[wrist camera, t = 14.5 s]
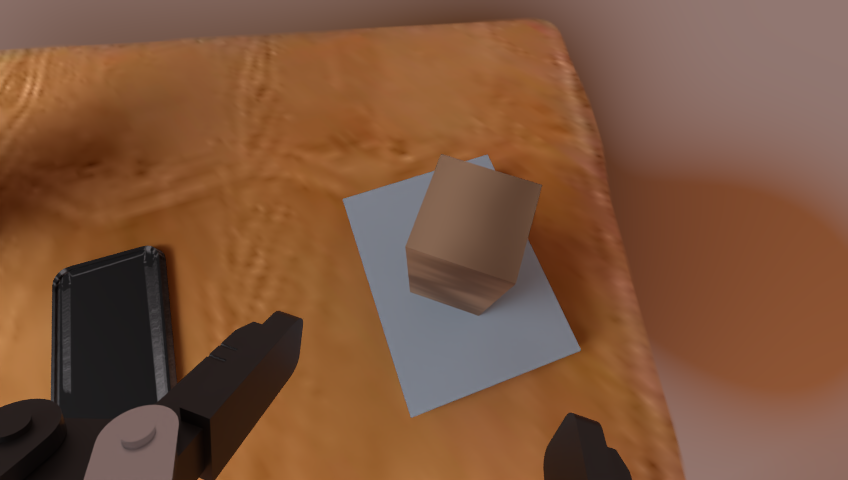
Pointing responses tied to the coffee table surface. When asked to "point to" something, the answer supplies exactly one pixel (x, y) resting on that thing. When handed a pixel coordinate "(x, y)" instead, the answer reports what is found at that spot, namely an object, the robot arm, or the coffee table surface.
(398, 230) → the base board
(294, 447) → the coffee table surface
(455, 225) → the walnut block
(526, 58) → the coffee table surface
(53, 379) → the phone
